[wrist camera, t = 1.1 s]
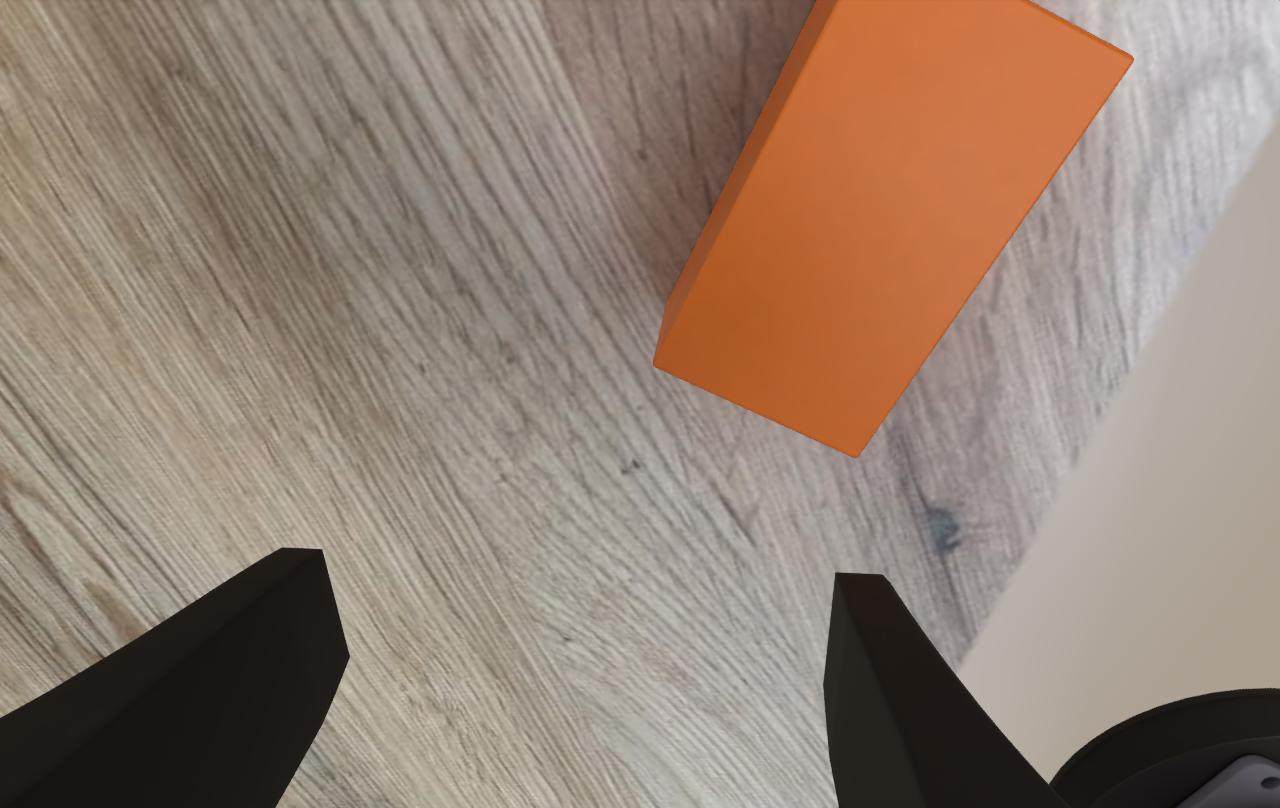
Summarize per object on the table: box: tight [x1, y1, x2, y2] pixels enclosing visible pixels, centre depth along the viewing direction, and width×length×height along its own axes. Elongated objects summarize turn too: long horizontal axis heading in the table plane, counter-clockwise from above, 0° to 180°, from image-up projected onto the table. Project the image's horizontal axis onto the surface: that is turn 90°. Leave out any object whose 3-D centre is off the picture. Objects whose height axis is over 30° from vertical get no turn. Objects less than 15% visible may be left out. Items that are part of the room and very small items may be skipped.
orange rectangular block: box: [653, 0, 1134, 458], centre depth 15 cm, size 4×8×4 cm, turn 156°
